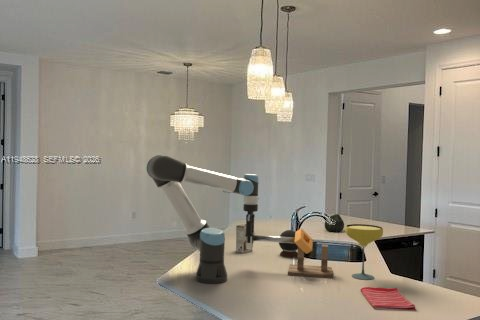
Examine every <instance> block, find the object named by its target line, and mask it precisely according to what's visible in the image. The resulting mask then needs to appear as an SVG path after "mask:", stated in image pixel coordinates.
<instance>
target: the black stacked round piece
mask: <svg viewBox="0 0 480 320" xmlns="http://www.w3.org/2000/svg"><path fill="white" fill-rule="evenodd" d="M295 232H296V231H294V230H292V229H288V230H287V229H286V230H285V231H283V232H282V233H280V234H279V237H295ZM278 244H279V247H280V248H281V250H282V251H281V252H279V255H280V256H281V257H284V258H298V246H297V245H296V244H295V243H281V242H278Z"/></svg>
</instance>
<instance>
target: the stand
mask: <svg viewBox="0 0 480 320" xmlns="http://www.w3.org/2000/svg"><path fill="white" fill-rule="evenodd" d="M297 252H298V257H297V264H289V265H288V268H287V276H298V277H314V278H326V279H327V278H328V279H333V276H334V275H333V268H332V266H328V260H329V259H328V257H329V256H328V254H329V245H328V244H321V257H320V258H321V259H320V260H321V261H320V262H321V263H320V265H321V266H320V265H306V264H305V265H304V263H305V261H304V260H305V258H304V257H305V252H303V251H302V250H301V249H300V248H299V247H298V249H297Z"/></svg>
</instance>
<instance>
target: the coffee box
mask: <svg viewBox="0 0 480 320" xmlns="http://www.w3.org/2000/svg"><path fill="white" fill-rule="evenodd" d="M235 228H236V229H235V231H236V232H235V252H237V253H240V254H241V253H242V254H246V253H249V252H252V251H253V248H252V249H246V236H245V235H246V223H244V224H239V225H237V224H236V227H235Z"/></svg>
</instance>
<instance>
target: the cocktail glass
mask: <svg viewBox="0 0 480 320" xmlns="http://www.w3.org/2000/svg"><path fill="white" fill-rule="evenodd" d="M345 234H346V235H347V236H348V237H349V238H350V239H352V240H354V241H356V242H357V243H359V245H360V247H362V262H361V263H362V264H361V273H358V272H357V273H353V274H351V277H352V278H353V279H357V280H362V281H370V280H374V279H375V277H374V276H373V275H372V274H368V273H365V248H366V247H367V246H368V245H369V244H371V243H373V242H375V241H377V240H379V239H380V238H382V237H383V236H384V228H383V227H382V226H379V225H375V224H374V225H372V224H366V223H365V224H362V223H361V224H359V223H353V224H347V225H346V226H345Z"/></svg>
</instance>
